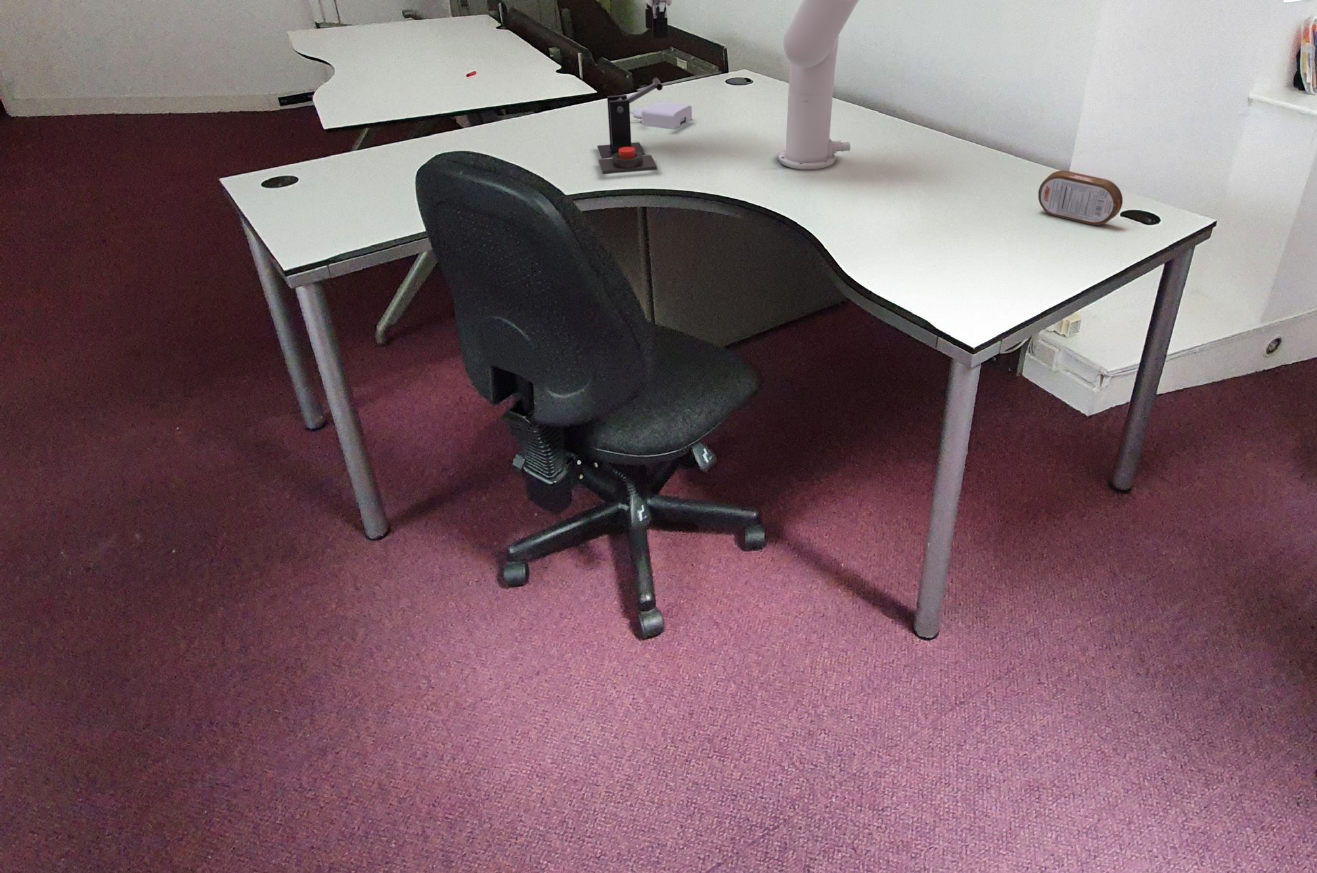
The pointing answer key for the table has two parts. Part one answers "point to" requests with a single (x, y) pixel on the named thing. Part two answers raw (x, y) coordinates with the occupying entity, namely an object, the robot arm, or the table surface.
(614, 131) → the bracket
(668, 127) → the charger
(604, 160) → the control block
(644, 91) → the lever
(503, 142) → the table surface
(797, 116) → the robot arm
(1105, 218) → the tin
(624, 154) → the button
